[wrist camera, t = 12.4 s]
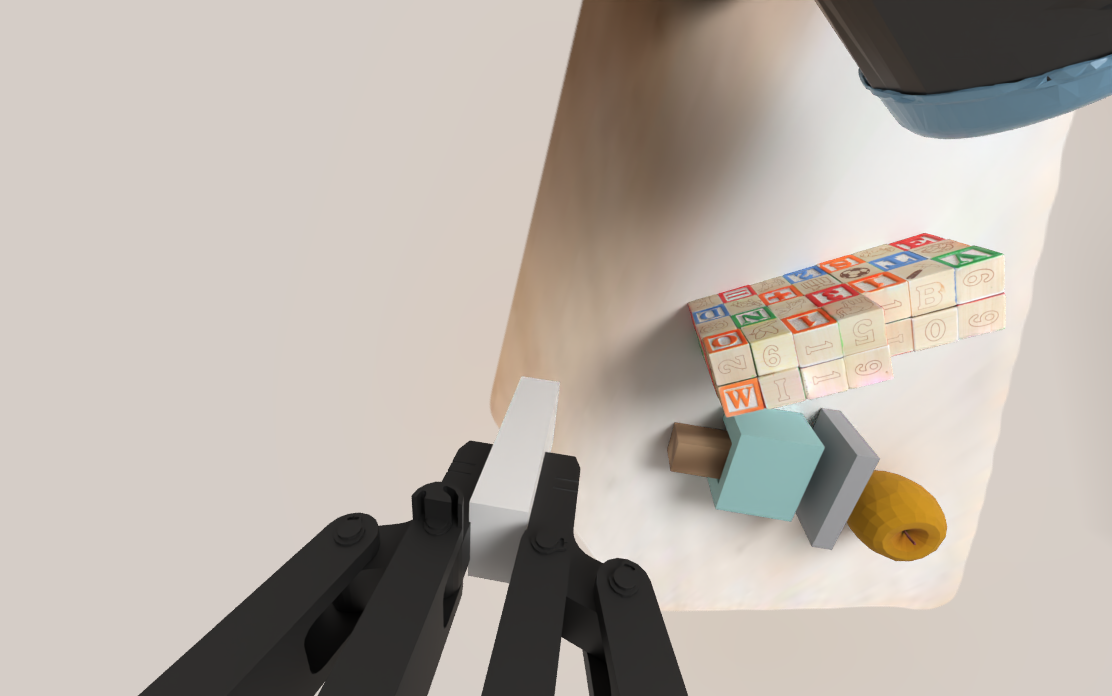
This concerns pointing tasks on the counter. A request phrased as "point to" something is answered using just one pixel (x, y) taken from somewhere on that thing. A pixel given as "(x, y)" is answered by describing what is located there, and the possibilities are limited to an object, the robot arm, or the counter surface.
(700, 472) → the brown wooden bar
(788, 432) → the block
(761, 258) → the counter surface
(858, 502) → the apple
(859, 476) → the wall
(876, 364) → the stack of blocks
